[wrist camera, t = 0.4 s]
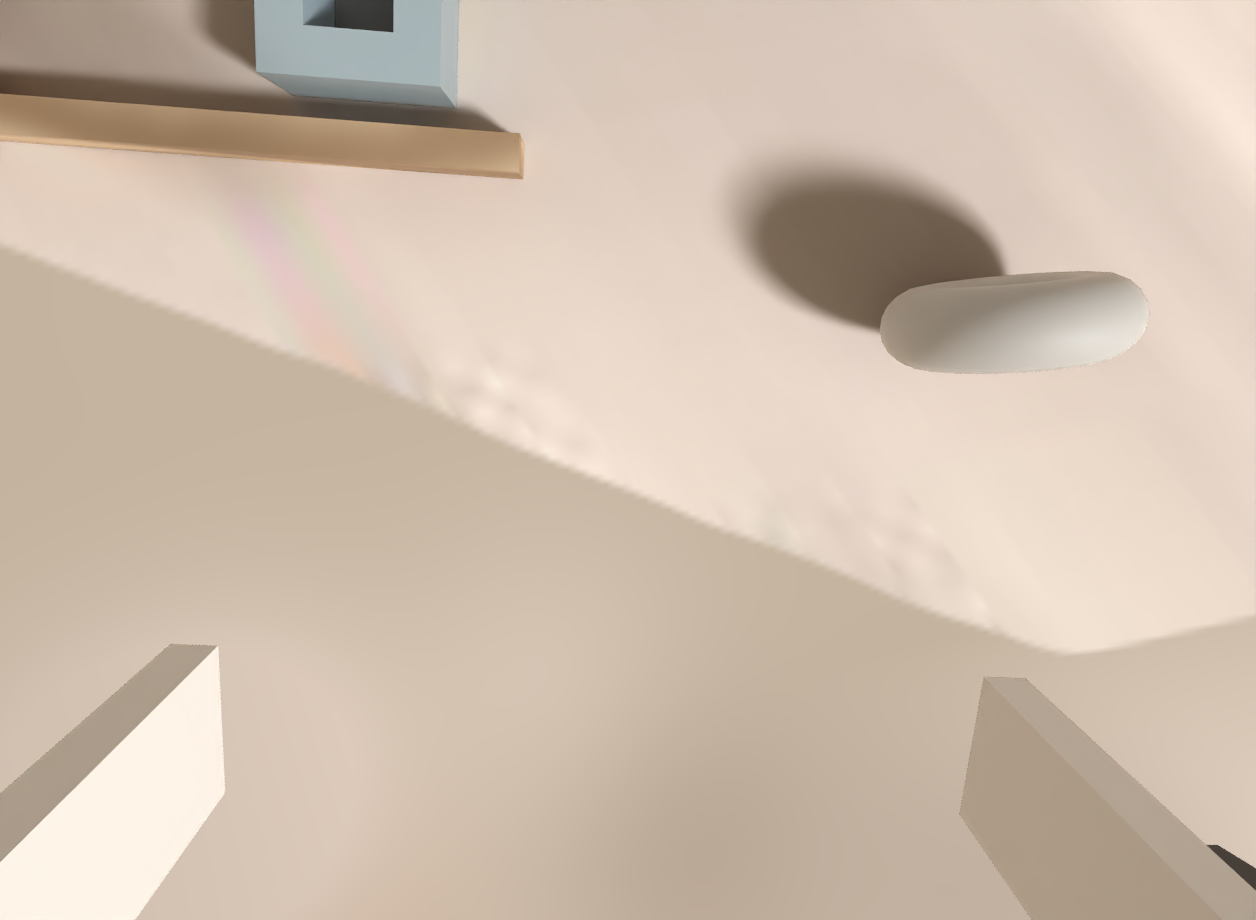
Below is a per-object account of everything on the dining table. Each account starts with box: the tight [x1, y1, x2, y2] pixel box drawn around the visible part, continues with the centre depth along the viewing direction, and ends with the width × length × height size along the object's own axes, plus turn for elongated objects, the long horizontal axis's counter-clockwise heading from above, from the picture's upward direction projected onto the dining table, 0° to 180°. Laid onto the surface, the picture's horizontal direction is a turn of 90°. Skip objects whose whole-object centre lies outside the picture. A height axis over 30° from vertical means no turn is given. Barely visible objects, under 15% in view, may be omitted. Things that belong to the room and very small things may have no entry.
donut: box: [880, 271, 1150, 374], centre depth 34 cm, size 10×3×10 cm, turn 96°
